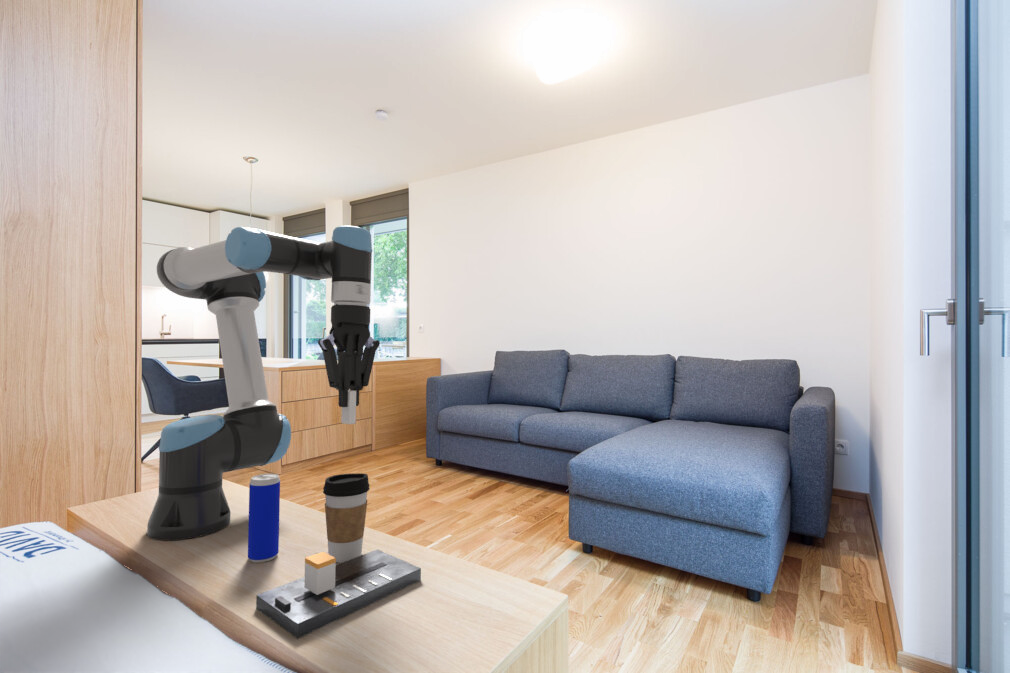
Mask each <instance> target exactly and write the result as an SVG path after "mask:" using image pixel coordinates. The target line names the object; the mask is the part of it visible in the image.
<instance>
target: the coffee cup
mask: <svg viewBox="0 0 1010 673" xmlns="http://www.w3.org/2000/svg"><path fill="white" fill-rule="evenodd" d="M370 486H371V485H370V483H369V475H368V474H367V473H363V472H362V473H361V472H360V473H357V472H356V473H342V474H341V473H340V474H335V475H331V476H328V477H325V481H324V485H323V487H322V493H323V494H324V495H325V503H324V512H325V524H326V525H325V526H326V536H327V537H326V538H327V549H328V551H327V554H329V555H331V556H333V557H335V558H336V563H338V564H340V563H342V562H345V561H348V560H350V559H353V558H356V557H358V556H361V555H363V553H362V552H363V545H364V544H363V542H364V533H365V526H366V525H365V524H366V516H367V508H368V498H367V497H368V492H369V491H370Z"/></svg>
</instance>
